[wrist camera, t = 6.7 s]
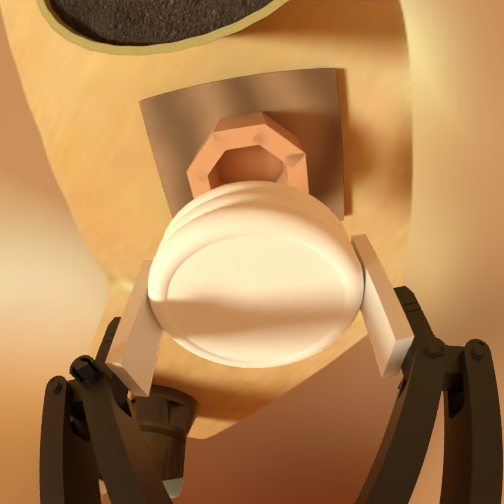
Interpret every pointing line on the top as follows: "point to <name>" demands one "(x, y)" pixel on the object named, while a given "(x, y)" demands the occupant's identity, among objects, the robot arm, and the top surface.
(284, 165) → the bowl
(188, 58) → the top surface
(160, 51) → the potted cactus
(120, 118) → the top surface
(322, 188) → the board
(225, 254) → the cream flat cylinder
